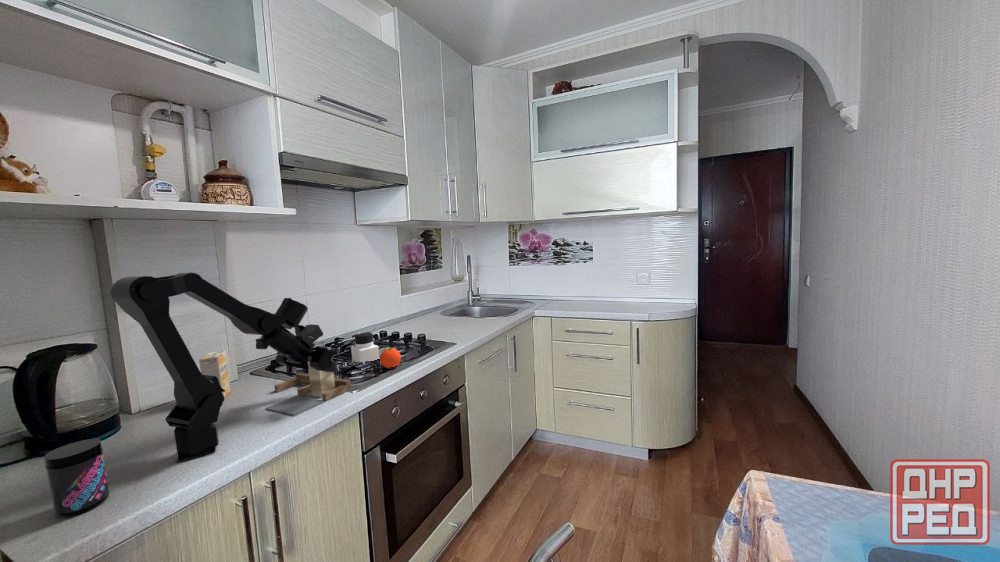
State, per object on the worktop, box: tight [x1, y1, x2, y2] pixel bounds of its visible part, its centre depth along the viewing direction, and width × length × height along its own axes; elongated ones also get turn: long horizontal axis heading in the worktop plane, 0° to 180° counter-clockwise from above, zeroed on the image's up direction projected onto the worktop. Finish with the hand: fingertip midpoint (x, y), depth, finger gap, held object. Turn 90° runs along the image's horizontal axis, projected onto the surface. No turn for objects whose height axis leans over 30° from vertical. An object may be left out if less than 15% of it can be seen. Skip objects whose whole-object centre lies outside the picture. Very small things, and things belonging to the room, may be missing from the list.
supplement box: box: [198, 350, 231, 399], centre depth 116 cm, size 8×5×13 cm, turn 22°
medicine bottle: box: [350, 331, 381, 362], centre depth 138 cm, size 7×7×12 cm
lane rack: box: [274, 372, 353, 402], centre depth 117 cm, size 9×22×3 cm, turn 63°
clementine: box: [380, 347, 402, 369], centre depth 135 cm, size 8×7×7 cm
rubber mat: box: [265, 394, 326, 417], centre depth 106 cm, size 9×12×1 cm
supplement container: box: [43, 438, 111, 518], centre depth 67 cm, size 7×7×10 cm
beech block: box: [307, 361, 335, 398], centre depth 114 cm, size 5×5×10 cm
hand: (325, 369), depth 115 cm, fingers open, 9 cm apart
